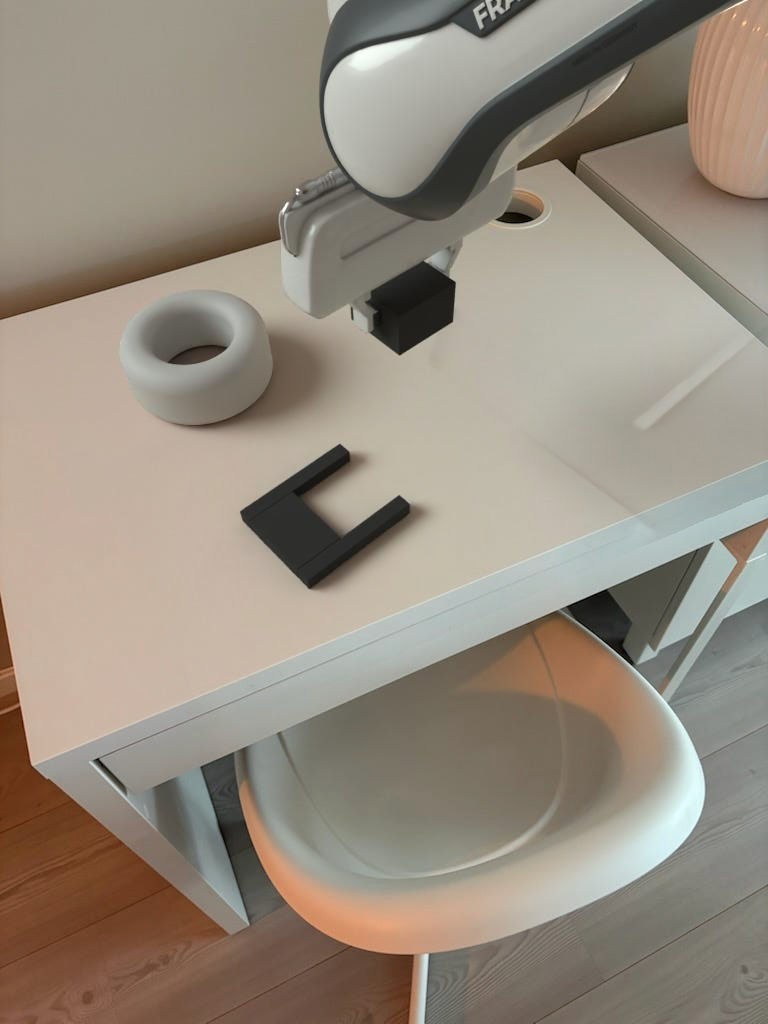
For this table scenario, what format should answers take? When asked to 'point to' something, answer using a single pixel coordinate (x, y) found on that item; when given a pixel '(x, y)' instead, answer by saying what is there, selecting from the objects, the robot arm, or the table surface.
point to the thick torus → (204, 385)
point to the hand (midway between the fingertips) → (402, 305)
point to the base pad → (314, 522)
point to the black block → (413, 307)
